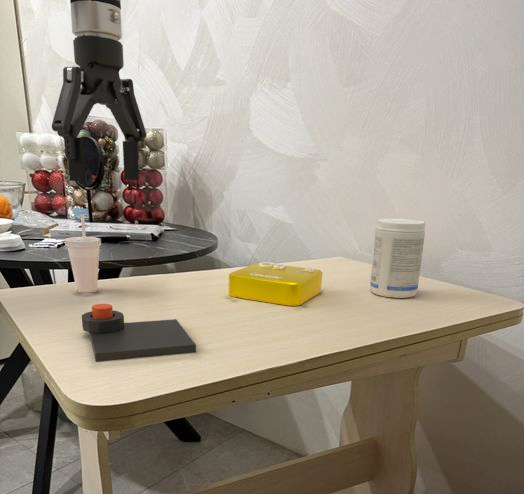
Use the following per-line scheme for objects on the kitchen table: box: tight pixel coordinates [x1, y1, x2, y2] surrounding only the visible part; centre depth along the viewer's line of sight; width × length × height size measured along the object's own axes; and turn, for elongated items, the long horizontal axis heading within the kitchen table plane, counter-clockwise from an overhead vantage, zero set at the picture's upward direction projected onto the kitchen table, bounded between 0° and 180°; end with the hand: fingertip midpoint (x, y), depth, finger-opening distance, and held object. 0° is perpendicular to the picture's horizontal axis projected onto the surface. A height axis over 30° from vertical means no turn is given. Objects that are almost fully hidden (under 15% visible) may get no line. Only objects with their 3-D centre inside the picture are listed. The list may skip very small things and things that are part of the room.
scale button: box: [91, 303, 114, 319], centre depth 74 cm, size 3×3×2 cm
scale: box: [81, 309, 197, 363], centre depth 73 cm, size 14×13×3 cm
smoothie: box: [64, 214, 102, 294], centre depth 97 cm, size 6×6×14 cm
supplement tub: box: [369, 218, 426, 299], centre depth 105 cm, size 10×10×15 cm
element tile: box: [228, 261, 323, 307], centre depth 102 cm, size 15×15×5 cm
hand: (106, 180), depth 89 cm, fingers open, 13 cm apart
